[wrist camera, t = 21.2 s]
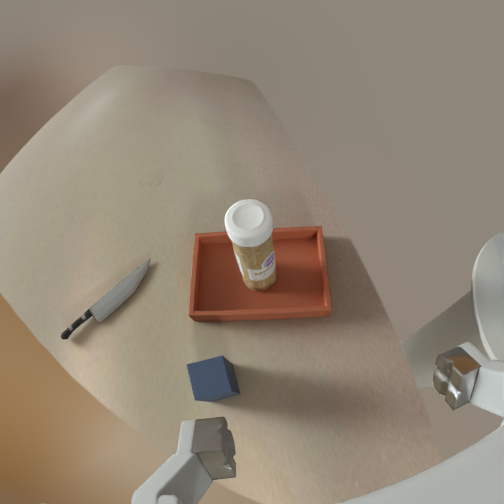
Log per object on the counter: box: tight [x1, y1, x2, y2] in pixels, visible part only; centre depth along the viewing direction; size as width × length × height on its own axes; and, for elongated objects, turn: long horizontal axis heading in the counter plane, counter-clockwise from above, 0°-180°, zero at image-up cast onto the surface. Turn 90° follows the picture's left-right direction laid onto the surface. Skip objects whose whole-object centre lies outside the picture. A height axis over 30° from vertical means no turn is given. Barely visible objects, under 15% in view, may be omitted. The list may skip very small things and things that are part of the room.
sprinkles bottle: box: [225, 199, 277, 291], centre depth 35 cm, size 5×5×13 cm
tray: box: [189, 226, 332, 321], centre depth 40 cm, size 17×12×3 cm
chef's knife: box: [61, 258, 151, 339], centre depth 41 cm, size 19×1×3 cm
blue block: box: [187, 356, 240, 402], centre depth 32 cm, size 4×4×6 cm
